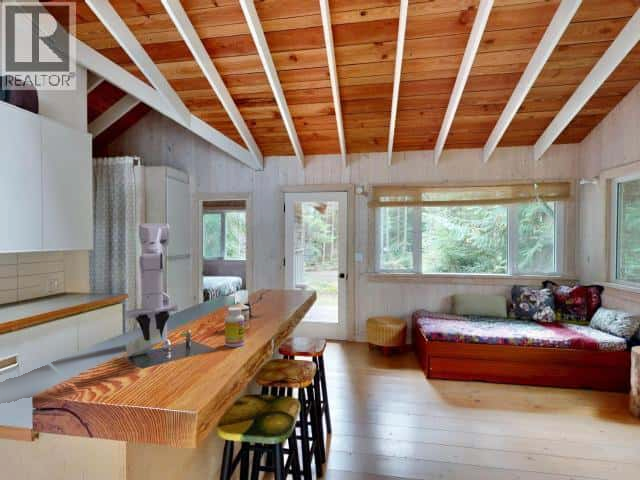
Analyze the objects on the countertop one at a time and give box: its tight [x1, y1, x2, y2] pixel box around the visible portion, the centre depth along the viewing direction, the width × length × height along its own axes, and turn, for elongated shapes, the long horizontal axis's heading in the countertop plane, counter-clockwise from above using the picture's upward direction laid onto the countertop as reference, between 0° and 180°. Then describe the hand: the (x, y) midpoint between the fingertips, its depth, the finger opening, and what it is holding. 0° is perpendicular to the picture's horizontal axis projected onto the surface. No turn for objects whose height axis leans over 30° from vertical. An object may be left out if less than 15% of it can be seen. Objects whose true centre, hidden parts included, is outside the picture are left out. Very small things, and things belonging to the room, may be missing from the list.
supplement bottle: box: [224, 307, 245, 348], centre depth 126 cm, size 7×7×13 cm
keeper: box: [180, 329, 192, 347], centre depth 120 cm, size 2×6×6 cm, turn 2°
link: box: [125, 329, 162, 357], centre depth 109 cm, size 16×6×4 cm, turn 48°
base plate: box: [121, 340, 218, 369], centre depth 115 cm, size 17×24×1 cm
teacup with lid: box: [227, 300, 250, 331], centre depth 151 cm, size 12×9×12 cm
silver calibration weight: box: [162, 339, 172, 350], centre depth 120 cm, size 2×2×4 cm
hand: (153, 338), depth 106 cm, fingers closed on link, 3 cm apart
